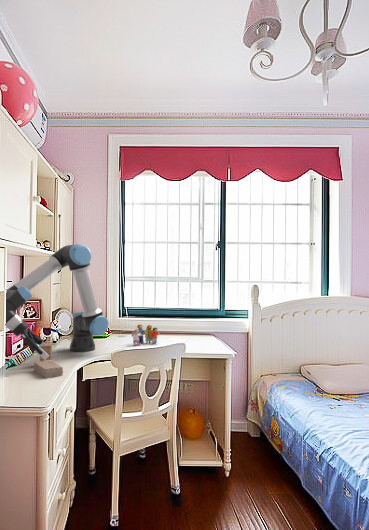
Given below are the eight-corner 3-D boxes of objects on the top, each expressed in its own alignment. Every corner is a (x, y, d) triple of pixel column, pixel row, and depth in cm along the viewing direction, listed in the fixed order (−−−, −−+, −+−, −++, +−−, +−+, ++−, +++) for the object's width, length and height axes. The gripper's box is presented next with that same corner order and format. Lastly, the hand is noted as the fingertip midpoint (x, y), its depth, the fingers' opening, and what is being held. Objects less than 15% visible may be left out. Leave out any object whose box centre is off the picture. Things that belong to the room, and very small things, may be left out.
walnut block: (40, 364, 189) (41, 344, 190) (51, 364, 191) (51, 344, 191) (39, 366, 185) (39, 346, 185) (50, 366, 186) (50, 346, 186)
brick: (63, 376, 170) (64, 365, 170) (45, 379, 164) (45, 368, 165) (50, 369, 183) (50, 359, 183) (33, 371, 177) (33, 361, 177)
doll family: (131, 346, 240) (132, 326, 240) (125, 344, 248) (126, 324, 248) (160, 343, 251) (161, 324, 252) (154, 341, 259) (154, 322, 260)
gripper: (16, 327, 196) (46, 355, 199) (5, 335, 172) (39, 366, 175) (27, 317, 198) (56, 345, 201) (18, 323, 173) (51, 354, 177)
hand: (48, 355), depth 188 cm, fingers open, 13 cm apart
